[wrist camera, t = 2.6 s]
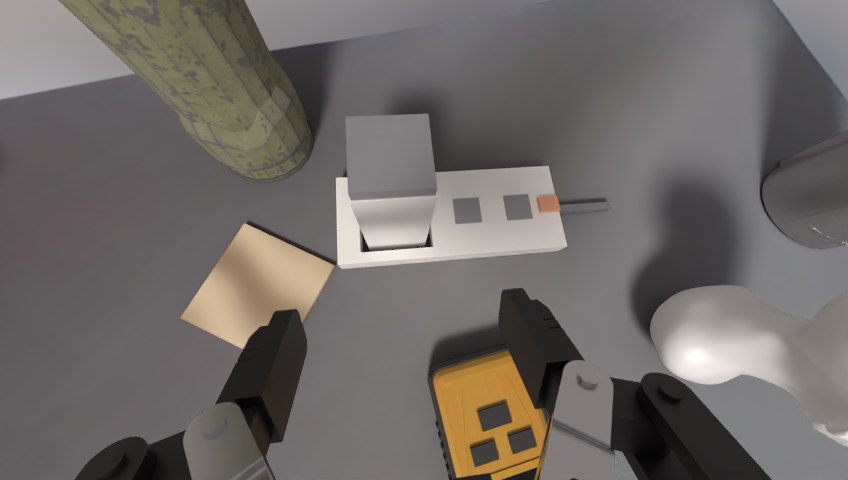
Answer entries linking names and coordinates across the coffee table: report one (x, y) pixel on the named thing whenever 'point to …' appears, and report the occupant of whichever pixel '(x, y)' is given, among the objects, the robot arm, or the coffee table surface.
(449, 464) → the electronic device
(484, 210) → the power strip
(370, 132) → the block
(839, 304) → the white irregular upright piece
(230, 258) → the cork coaster
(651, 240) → the coffee table surface
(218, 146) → the thermos
